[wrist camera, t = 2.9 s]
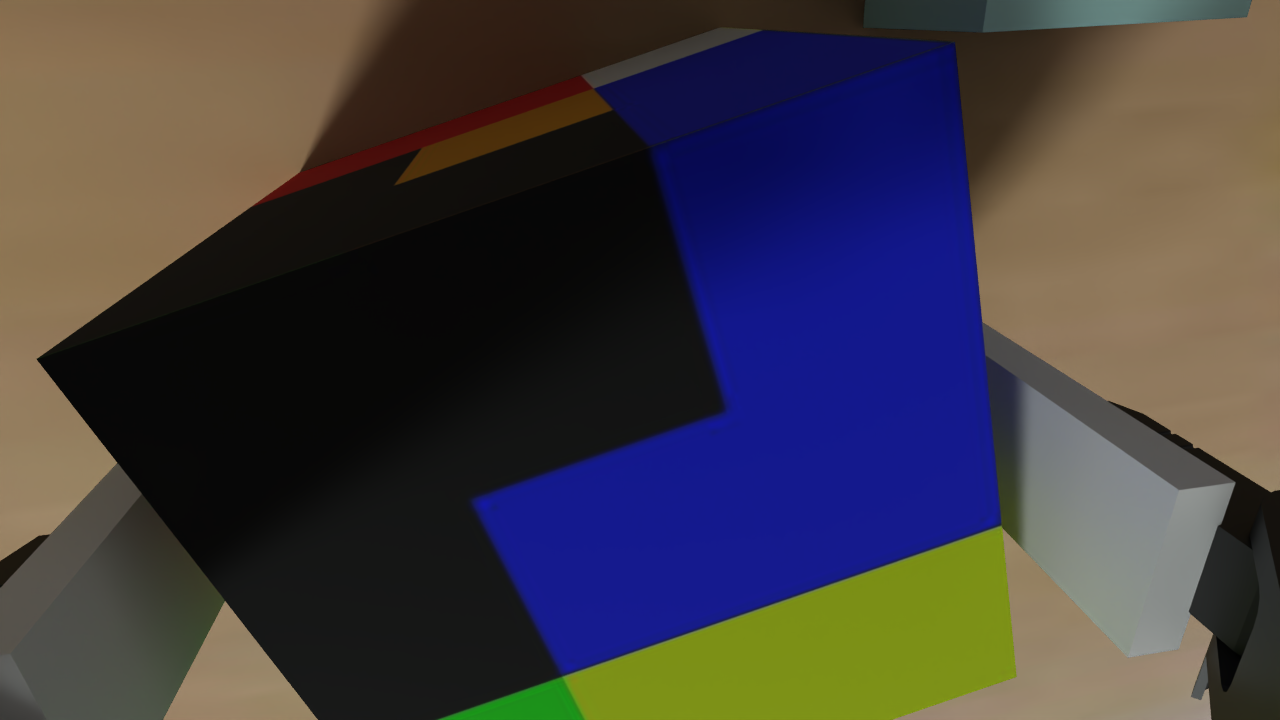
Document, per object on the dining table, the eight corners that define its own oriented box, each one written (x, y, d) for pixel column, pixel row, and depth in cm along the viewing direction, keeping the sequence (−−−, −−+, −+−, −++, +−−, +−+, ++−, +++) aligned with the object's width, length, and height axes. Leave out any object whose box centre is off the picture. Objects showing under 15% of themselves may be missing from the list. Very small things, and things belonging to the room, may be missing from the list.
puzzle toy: (720, 26, 16) (955, 41, 8) (805, 393, 21) (1016, 677, 12) (300, 171, 16) (37, 359, 8) (474, 507, 21) (439, 875, 12)
